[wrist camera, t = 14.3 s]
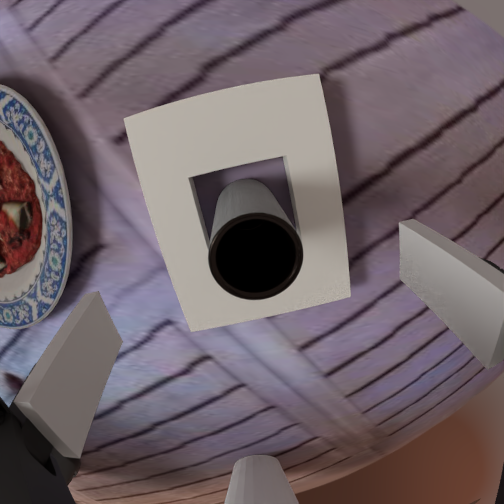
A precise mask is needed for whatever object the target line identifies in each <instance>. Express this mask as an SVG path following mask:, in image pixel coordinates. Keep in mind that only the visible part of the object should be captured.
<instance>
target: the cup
mask: <svg viewBox="0 0 504 504" xmlns="http://www.w3.org/2000/svg"><path fill="white" fill-rule="evenodd" d="M224 504H299V503H298V501H297V499H296V497H295V494H294V492H293V490H292V488H291V486H290V484H289V482H288V480H287V478H286V476H285V473H284V471H283V469H282V467H281V465H280V463H279V461H278V459H276V458H275V457H272V456H269V455H251V456H246V457H243V458H241V459H239V460H237V461H236V462H235V465H234V468H233V472H232V476H231V480H230V484H229V488H228V492H227V496H226V499H225V503H224Z"/></svg>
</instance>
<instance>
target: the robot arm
mask: <svg viewBox="0 0 504 504" xmlns="http://www.w3.org/2000/svg"><path fill="white" fill-rule="evenodd" d="M399 237H400V280H401V281H403V282H404V283H405V284H406V285H407V286H408V287H409V288H410V289H411V290H412V291H413V292H414V293H415V294H416V295H417V296H418V297H419V298H420V299H421V300H422V301H423V302H424V303H425V304H426V305H427V306H428V307H429V308H430V309H431V310H432V311H433V312H434V313H435V314H436V315H437V316H438V317H439V318H440V319H441V320H442V321H443V322H444V323H445V324H446V325H447V326H448V327H449V329H450V330H451V331H452V332H453V333H454V334H455V335H456V336H457V337H458V338H459V339H460V340H461V341H462V342H463V343H464V345H465V346H466V347H467V348H468V349H469V350H470V351H471V352H472V353H473V354H474V356H475V357H476V358H477V359H478V360H479V361H480V362H481V363H482V365H483V366H484V367H485V368H486V369H487V370H488V369H490V368H492V367H493V366H495V365H497V364H498V363H500V362H502V361H503V359H504V270H503V269H500V267H498V266H497V265H495V264H494V263H492V262H491V261H488V260H485V259H482V258H479V257H477V256H476V255H474V254H472V253H471V252H469V251H468V250H466V249H464V248H463V247H461V246H460V245H458V244H456V243H455V242H453V241H451V240H450V239H448V238H446V237H444V236H443V235H441V234H439V233H438V232H436V231H434V230H432V229H431V228H429V227H427V226H425V225H423V224H422V223H420V222H418V221H416V220H414V219H411V220H406V221H402V222H399ZM122 343H123V341H122V339H121V337H120V335H119V333H118V331H117V329H116V327H115V325H114V323H113V321H112V319H111V317H110V315H109V313H108V311H107V309H106V306H105V304H104V302H103V300H102V298H101V295H100V293H99V291H97V292H93V293H88V294H85V295H84V296H83V297H82V299H81V300H80V301H79V303H78V304H77V306H76V307H75V308H74V310H73V311H72V312H71V314H70V315H69V316H68V318H67V319H66V321H65V322H64V323H63V325H62V326H61V328H60V329H59V331H58V332H57V334H56V335H55V336H54V338H53V339H52V341H51V342H50V344H49V345H48V347H47V348H46V350H45V351H44V353H43V354H42V356H41V357H40V359H39V360H38V362H37V363H36V364H35V365H34V367H33V368H32V370H31V372H30V373H29V376H27V378H26V380H25V381H24V382H25V383H23V385H22V386H21V388H20V390H19V391H18V393H17V395H16V396H15V398H14V400H13V402H12V403H11V405H10V407H8V406H7V405H6V404H5V402H4V401H3V400H2V398H1V397H0V504H76V503H75V501H74V499H73V497H72V495H71V493H70V491H69V488H68V484H69V483H70V482H71V480H72V478H73V477H75V476H76V475H77V474H78V471H79V468H80V464H81V463H80V460H79V458H80V457H81V454H82V451H83V448H84V444H85V441H86V438H87V435H88V432H89V429H90V426H91V424H92V421H93V418H94V415H95V412H96V409H97V407H98V404H99V401H100V398H101V396H102V393H103V390H104V388H105V385H106V382H107V380H108V377H109V375H110V372H111V370H112V367H113V365H114V362H115V360H116V357H117V355H118V352H119V350H120V347H121V345H122ZM495 504H504V464H503V470H502V475H501V480H500V485H499V489H498V493H497V497H496V501H495Z"/></svg>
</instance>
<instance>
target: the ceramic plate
mask: <svg viewBox="0 0 504 504" xmlns="http://www.w3.org/2000/svg"><path fill="white" fill-rule="evenodd" d="M72 241H73V229H72V213H71V204H70V198H69V191H68V186H67V182H66V178H65V174H64V169H63V165H62V163H61V160H60V157H59V154H58V151H57V149H56V146H55V143H54V141H53V139H52V137H51V134H50V132H49V130H48V129H47V127H46V125H45V123H44V121H43V120H42V118H41V117H40V115H39V114H38V112H37V111H36V110H35V109H34V107H33V106H32V105H31V104H30V103H29V102H28V101H27V100H26V98H24V97H23V96H22V95H20V94H19V93H17V92H16V91H15V90H13V89H11V88H9V87H7V86H4V85H1V84H0V327H3V328H9V329H21V328H26V327H30V326H32V325H35V324H37V323H38V322H40V321H41V320H43V319H44V318H45V317H46V316H47V315H48V314H49V313H50V312H51V311H52V310H53V309H54V307H55V306H56V304H57V303H58V301H59V299H60V297H61V295H62V293H63V290H64V288H65V285H66V282H67V278H68V275H69V269H70V264H71V256H72Z"/></svg>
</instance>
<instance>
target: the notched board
mask: <svg viewBox="0 0 504 504" xmlns="http://www.w3.org/2000/svg"><path fill="white" fill-rule="evenodd" d="M124 122H125V127H126V131H127V135H128V139H129V143H130V147H131V151H132V155H133V158H134V162H135V166H136V170H137V173H138V177H139V180H140V184H141V187H142V191H143V194H144V198H145V201H146V205H147V208H148V211H149V214H150V218H151V221H152V224H153V227H154V230H155V233H156V237H157V240H158V243H159V246H160V249H161V252H162V255H163V258H164V260H165V263H166V266H167V269H168V272H169V275H170V278H171V280H172V283H173V286H174V289H175V291H176V294H177V297H178V300H179V302H180V305H181V308H182V310H183V313H184V315H185V318H186V321H187V323H188V326H189V328H190V331H191V332H194V331H199V330H205V329H210V328H215V327H221V326H226V325H231V324H236V323H241V322H245V321H250V320H255V319H260V318H264V317H269V316H273V315H278V314H282V313H287V312H291V311H295V310H300V309H304V308H308V307H312V306H316V305H320V304H324V303H328V302H332V301H336V300H340V299H344V298H348V297H351V292H350V278H349V265H348V253H347V243H346V233H345V224H344V215H343V207H342V199H341V192H340V185H339V178H338V171H337V165H336V158H335V152H334V146H333V141H332V135H331V130H330V124H329V119H328V114H327V109H326V104H325V99H324V95H323V90H322V85H321V81H320V77H319V74H312V75H304V76H296V77H288V78H282V79H275V80H269V81H263V82H257V83H252V84H247V85H242V86H237V87H232V88H227V89H223V90H218V91H214V92H210V93H206V94H202V95H198V96H194V97H190V98H187V99H183V100H179V101H176V102H173V103H169V104H166V105H163V106H159V107H156V108H153V109H150V110H147V111H144V112H141V113H138V114H135V115H132V116H129V117H126V118H124ZM281 156H283V161H284V166H285V171H286V176H287V181H288V187H289V192H290V197H291V203H292V208H293V214H294V219H295V225H296V231H297V233H298V235H299V237H300V239H301V242H302V246H303V263H302V267H301V270H300V272H299V274H298V276H297V278H296V279H295V281H294V282H293V283H292V284H291V285H290V286H289V287H288V288H287V289H286V290H284V291H283V292H281V293H280V294H278V295H276V296H273V297H271V298H267V299H263V300H246V299H241V298H238V297H235V296H233V295H231V294H229V293H228V292H226V291H225V290H224V289H222V288H221V287H220V286H219V285H218V284H217V282H216V281H215V279H214V278H213V276H212V274H211V271H210V268H209V264H208V250H209V244H210V240H209V237H208V233H207V229H206V226H205V222H204V218H203V215H202V211H201V207H200V203H199V200H198V196H197V192H196V188H195V184H194V181H193V176H197V175H201V174H205V173H209V172H213V171H217V170H221V169H225V168H229V167H234V166H238V165H243V164H247V163H252V162H256V161H261V160H266V159H271V158H276V157H281Z"/></svg>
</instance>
